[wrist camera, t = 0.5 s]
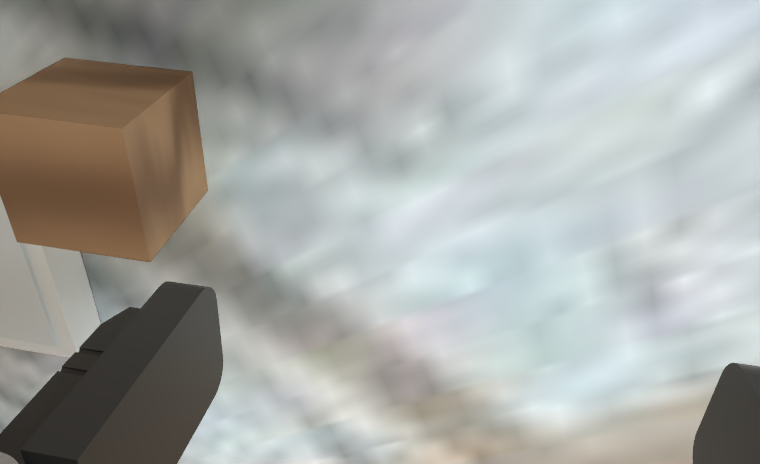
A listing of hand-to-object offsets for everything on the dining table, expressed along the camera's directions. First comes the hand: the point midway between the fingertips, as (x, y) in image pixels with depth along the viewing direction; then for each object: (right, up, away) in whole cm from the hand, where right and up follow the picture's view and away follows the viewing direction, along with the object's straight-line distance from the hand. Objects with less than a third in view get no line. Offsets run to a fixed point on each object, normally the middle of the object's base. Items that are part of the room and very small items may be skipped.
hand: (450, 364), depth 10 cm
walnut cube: (-12, +7, +19) cm, 24 cm away
